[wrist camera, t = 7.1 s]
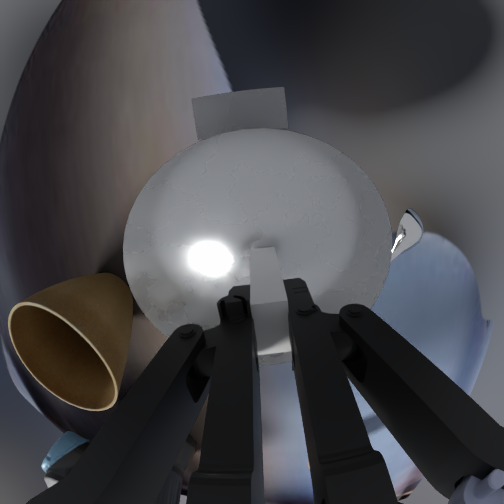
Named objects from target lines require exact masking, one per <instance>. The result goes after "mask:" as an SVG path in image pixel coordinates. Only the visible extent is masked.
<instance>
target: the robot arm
mask: <svg viewBox="0 0 504 504" xmlns="http://www.w3.org/2000/svg"><path fill="white" fill-rule="evenodd" d="M217 308H218V312H219V317H220V324H219V325H218V326H216V327H214V328H211V329H207V330H204V331H203V329H202V327H201V326H200V325H197V324H186V325H182V326H180V327H178V328H177V329H176V330H175V331H173V333H172V334H171V335H170V337H169V338H168V339H167V341H166V342H165V343H164V345H163V346H162V347H161V349H160V350H159V351H158V353H157V354H156V355H155V357H154V358H153V359H152V361H151V362H150V363H149V365H148V366H147V367H146V369H145V370H144V371H143V373H142V374H141V375H140V377H139V378H138V379H137V381H136V382H135V383H134V385H133V386H132V387H131V389H130V390H129V391H128V393H127V394H126V395H125V397H124V398H123V399H122V401H121V402H120V403H119V405H118V406H117V408H116V409H115V410H114V412H113V413H112V414H111V416H110V417H109V418H108V420H107V421H106V423H105V424H104V425H103V427H102V428H101V429H100V431H99V432H98V434H97V435H96V436H95V438H94V439H93V440H92V442H90V440H88V439H85V438H83V437H81V436H79V435H78V434H76V433H74V432H71V431H68V432H65V433H64V434H63V435H62V436H61V437H60V438H59V439H58V440H57V442H56V443H55V444H54V446H53V447H52V448H51V450H50V451H49V453H48V455H47V456H46V458H45V459H44V461H43V463H42V466H41V467H42V469H43V470H44V471H45V472H47V474H46V476H45V482H46V484H47V486H48V489H46V490H45V491H44V492H42V493H40V494H39V495H37V496H35V497H34V498H32V499H31V500H30V501H28V502H27V503H26V504H179V502H180V494H181V487H182V480H183V474H184V471H185V469H186V468H187V466H188V464H189V463H190V461H191V460H192V458H193V456H194V454H195V449H196V443H195V441H194V439H193V438H192V437H191V436H190V435H189V433H190V431H191V429H192V427H193V425H194V423H195V421H196V419H197V416H198V414H199V412H200V410H201V408H202V406H203V404H204V402H205V400H206V398H207V396H208V393H209V397H208V404H207V411H206V418H205V426H204V433H203V440H202V448H201V456H200V464H199V468H198V470H197V471H195V472H193V473H192V475H191V477H190V481H189V487H188V494H187V502H186V504H265V498H264V477H263V452H262V427H261V402H260V378H259V361H258V355H264V354H273V353H281V352H289V351H291V352H292V371H293V370H294V374H295V379H296V385H297V391H298V397H299V403H300V409H301V415H302V421H303V427H304V433H305V440H306V446H307V452H308V459H309V466H310V472H311V479H312V486H313V500H314V504H402V503H400V502H398V501H397V498H396V494H395V491H394V488H393V485H392V482H391V478H390V475H389V472H388V469H387V466H386V463H385V460H384V458H383V456H382V454H381V453H380V452H379V451H376V450H374V449H373V448H372V446H371V443H370V440H369V437H368V434H367V431H366V428H365V426H364V423H363V420H362V417H361V414H360V411H359V408H358V405H357V403H356V400H355V397H354V394H353V392H352V389H351V386H350V383H349V381H348V378H349V379H350V381H351V382H352V383H353V385H354V386H355V387H356V389H357V390H358V391H359V392H360V394H361V395H362V396H363V398H364V399H365V400H366V401H367V403H368V404H369V405H370V407H371V408H372V409H373V411H374V412H375V413H376V414H377V416H378V417H379V418H380V420H381V421H382V422H383V424H384V425H385V426H386V427H387V429H388V430H389V431H390V433H391V434H392V435H393V436H394V438H395V439H396V440H397V442H398V443H399V444H400V446H401V447H402V448H403V449H404V451H405V452H406V453H407V455H408V456H409V457H410V458H411V460H412V461H413V462H414V464H415V465H416V466H417V468H418V469H419V470H420V471H421V473H422V474H423V475H424V477H425V478H426V479H427V480H428V481H429V483H430V484H431V485H432V486H433V487H434V488H435V489H436V490H437V491H438V492H439V493H441V494H442V495H443V496H445V497H446V498H448V499H449V503H448V504H504V427H502V426H500V425H499V424H498V423H497V422H496V421H495V420H494V419H493V418H492V417H490V416H489V415H488V414H487V413H486V412H485V411H484V410H483V409H482V408H481V407H480V406H479V405H478V404H477V403H476V402H475V401H474V400H473V399H472V398H470V396H468V395H467V394H466V393H465V392H464V391H463V390H462V389H461V388H460V387H459V386H458V385H456V384H455V383H454V382H453V381H452V380H451V379H450V378H449V377H448V376H447V375H445V374H444V373H443V372H442V371H441V370H440V369H439V368H438V367H437V366H435V365H434V364H433V363H432V362H431V361H430V360H429V359H427V358H426V357H425V356H424V355H423V354H422V353H421V352H419V351H418V350H417V349H416V348H415V347H414V346H413V345H411V344H410V343H409V342H408V341H407V340H406V339H404V338H403V337H402V336H401V335H400V334H399V333H397V332H396V331H395V330H394V329H393V328H392V327H390V326H389V325H388V324H387V323H386V322H385V321H383V320H382V319H381V318H380V317H379V316H377V315H376V314H375V313H374V312H373V311H371V310H370V309H369V308H368V307H366V306H364V305H361V304H348V305H345V306H343V307H342V308H341V309H340V311H339V314H331V313H325V312H322V311H321V309H320V308H319V306H318V305H316V304H314V302H313V299H312V297H311V294H310V292H309V289H308V287H307V284H306V282H305V281H304V280H302V279H301V278H293V279H285V280H283V279H282V275H281V270H280V266H279V262H278V258H277V254H276V251H275V247H266V248H258V249H250V284H249V285H240V286H233V287H232V288H231V289H230V290H229V293H228V295H227V296H225V297H222V298H221V299H220V300H218V302H217ZM347 377H348V378H347Z"/></svg>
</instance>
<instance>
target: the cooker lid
mask: <svg viewBox="0 0 504 504" xmlns="http://www.w3.org/2000/svg"><path fill="white" fill-rule="evenodd" d="M192 105H193V111H194V118H195V124H196V131H197V137H198V140H199V139H202V140H201V141H199V142H197V143H195V144H193V145H191V146H190V147H188V148H186V149H184V150H183V151H181V152H180V153H178V154H177V155H176V156H174V157H173V158H172V159H170V160H169V161H168V162H167V163H165V164H164V165H163V166H162V167H161V168H160V169H159V170H158V171H157V172H156V173H155V174H154V175H153V176H152V177H151V178H150V179H149V181H148V182H147V183H146V185H145V186H144V188H143V189H142V191H141V192H140V194H139V195H138V197H137V199H136V201H135V203H134V205H133V207H132V209H131V212H130V214H129V218H128V221H127V225H126V228H125V234H124V242H123V261H124V268H125V273H126V278H127V281H128V284H129V287H130V289H131V292H132V294H133V296H134V298H135V300H136V302H137V304H138V306H139V307H140V309H141V310H142V311H143V313H144V314H145V316H146V317H147V318H148V319H149V320H150V322H151V323H152V324H153V325H154V326H155V327H156V328H157V329H158V330H159V331H160V332H161V333H163V334H164V335H165V336H166V337H167V338H169V337H170V335H171V334H172V333H173V331H175V330H176V329H177V328H178V327H180V326H182V325H186V324H197V325H200V326H201V327H202V329H203V331H204V330H207V329H211V328H214V327H216V326H218V325H219V324H220V317H219V312H218V308H217V302H218V300H220V299H221V298H222V297H225V296H227V295H228V293H229V290H230V289H231V288H232V287H233V286H240V285H249V284H250V249H258V248H266V247H275V251H276V254H277V258H278V262H279V266H280V270H281V275H282V279H283V280H285V279H293V278H301V279H302V280H304V281H305V282H306V284H307V287H308V289H309V292H310V294H311V297H312V299H313V302H314V304H316V305H318V306H319V308H320V309H321V311H322V312H325V313H331V314H339V311H340V309H341V308H342V307H343V306H345V305H348V304H361V305H364V306H366V307H368V308H369V309H371V307H372V306H373V304H374V303H375V301H376V300H377V298H378V296H379V294H380V292H381V290H382V288H383V286H384V283H385V281H386V278H387V275H388V272H389V267H390V263H391V256H392V230H391V225H390V220H389V216H388V212H387V210H386V207H385V204H384V202H383V199H382V197H381V195H380V194H379V192H378V190H377V188H376V187H375V185H374V183H373V182H372V181H371V180H370V178H369V177H368V176H367V175H366V173H365V172H364V171H363V170H362V169H361V168H360V167H359V166H358V165H357V164H356V163H354V162H353V161H352V160H351V159H350V158H349V157H348V156H346V155H345V154H343V153H342V152H340V151H339V150H337V149H336V148H334V147H332V146H331V145H329V144H327V143H325V142H322V141H320V140H318V139H315V138H313V137H310V136H308V135H305V134H301V133H298V132H294V131H290V130H286V129H285V128H288V118H287V109H286V101H285V92H284V87H278V88H265V89H255V90H245V91H237V92H229V93H223V94H216V95H210V96H204V97H199V98H194V99H192ZM258 361H259V366H260V365H273V364H279V363H285V362H289V361H292V352H291V351H289V352H281V353H273V354H264V355H258Z"/></svg>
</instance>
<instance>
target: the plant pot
mask: <svg viewBox="0 0 504 504" xmlns="http://www.w3.org/2000/svg"><path fill="white" fill-rule="evenodd" d="M132 318H133V297H132V293H131V291H130V289H129V287H128V286H127V284H126V283H125V282H124V281H123V280H122V279H121V278H119V277H118V276H116V275H114V274H111V273H97V274H90V275H85V276H81V277H77V278H73V279H70V280H67V281H64V282H61V283H58V284H56V285H53V286H51V287H48V288H46V289H44V290H42V291H40V292H38V293H36V294H34V295H32V296H30V297H28V298H26V299H25V300H23V301H21V302H20V303H18V304H16V305H15V306H14V307H13V308H12V310H11V312H10V315H9V321H8V325H9V332H10V337H11V340H12V343H13V345H14V348H15V350H16V352H17V354H18V356H19V357H20V359H21V361H22V362H23V364H24V365H25V366H26V368H27V369H28V370H29V372H30V373H31V374H32V375H33V376H34V378H35V379H36V380H37V381H38V382H39V383H40V384H42V385H43V386H44V387H45V388H46V389H47V390H49V391H50V392H51V393H52V394H54V395H55V396H57V397H58V398H60V399H61V400H63V401H65V402H67V403H69V404H71V405H73V406H76V407H79V408H81V409H85V410H91V411H102V410H106V409H109V408H110V407H112V406H113V405H114V404H115V402H116V400H117V397H118V393H119V389H120V385H121V381H122V377H123V373H124V369H125V365H126V360H127V355H128V350H129V344H130V337H131V329H132Z"/></svg>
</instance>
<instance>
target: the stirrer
mask: <svg viewBox="0 0 504 504" xmlns="http://www.w3.org/2000/svg"><path fill="white" fill-rule="evenodd" d="M422 236H423V224H422V221H421V219H420V217H419V215H418V214H417V213H416V212H415V211H414V210H413V209H411V208H409V209H407V210H406V212H405V213H404V215H403V217H402V219H401V221H400V224H399V227H398V231H397V236H396V241H395V245H394V248H393V250H392V256H391V261H392V260H394V259H395V258H396V257H397V256H399V255H400V254H402V253H404V252H405V251H407V250H409V249H411V248H413V247H415V246H416V245H417V244H418V243H419V242H420V240H421V238H422Z"/></svg>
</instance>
